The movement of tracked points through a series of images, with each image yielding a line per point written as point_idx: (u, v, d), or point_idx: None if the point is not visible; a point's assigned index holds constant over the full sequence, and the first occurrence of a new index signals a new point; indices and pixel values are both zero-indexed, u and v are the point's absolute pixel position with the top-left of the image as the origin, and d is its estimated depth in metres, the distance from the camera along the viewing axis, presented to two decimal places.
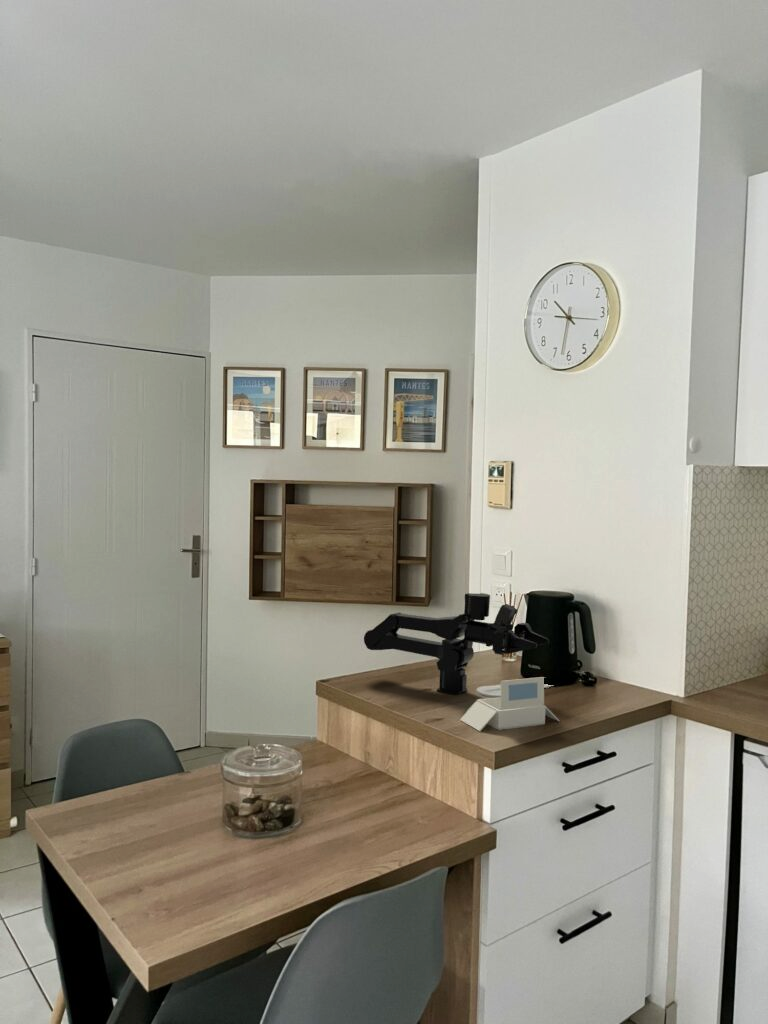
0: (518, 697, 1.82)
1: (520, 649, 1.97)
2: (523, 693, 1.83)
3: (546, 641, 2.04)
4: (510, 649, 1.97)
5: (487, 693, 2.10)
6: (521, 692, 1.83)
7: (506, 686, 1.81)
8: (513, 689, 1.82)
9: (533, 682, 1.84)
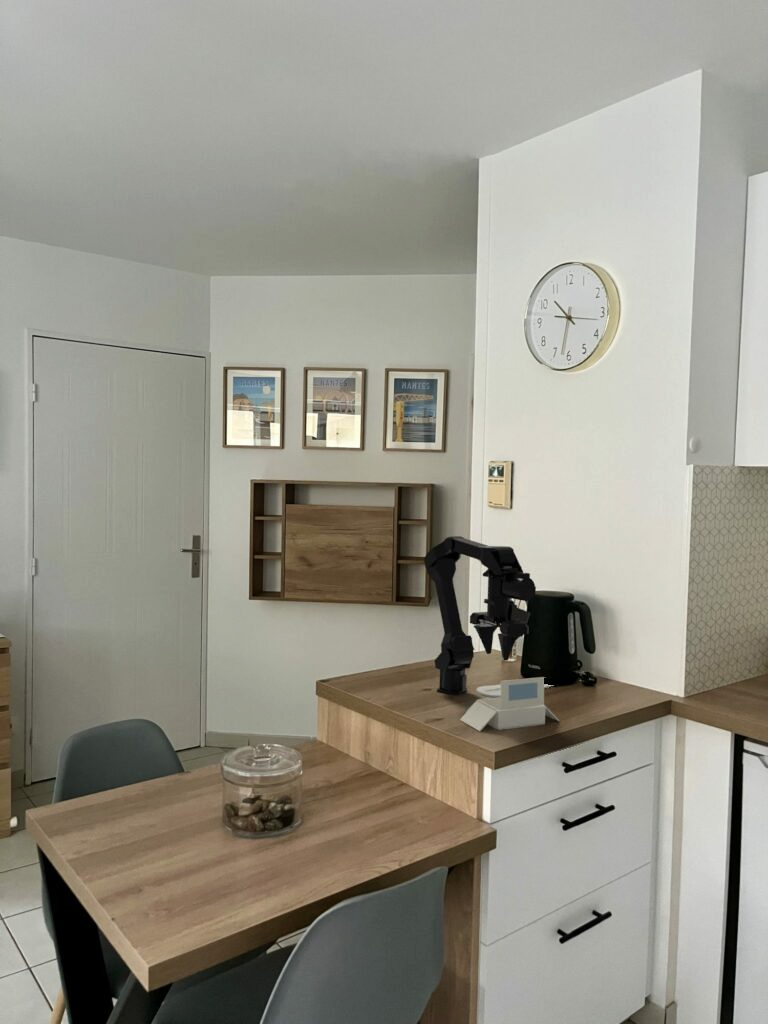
0: (518, 697, 1.82)
1: (504, 646, 1.93)
2: (523, 693, 1.83)
3: (488, 651, 2.02)
4: (505, 637, 1.92)
5: (487, 693, 2.10)
6: (521, 692, 1.83)
7: (506, 686, 1.81)
8: (513, 689, 1.82)
9: (533, 682, 1.84)
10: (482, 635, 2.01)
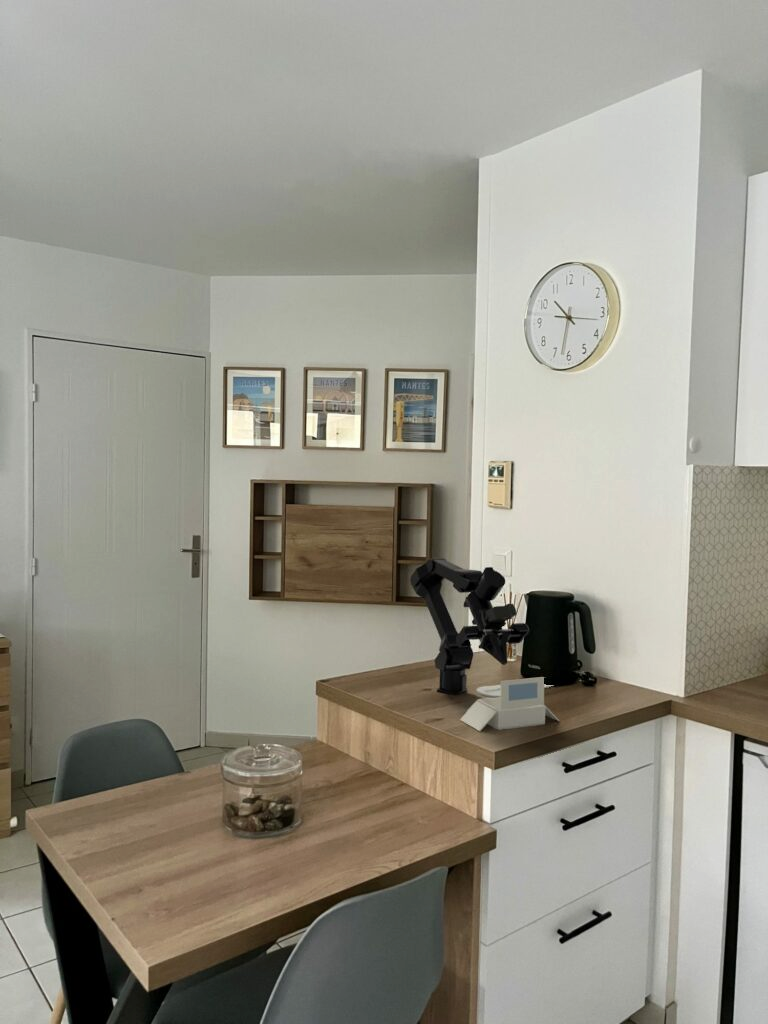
0: (518, 697, 1.82)
1: (492, 654, 1.93)
2: (523, 693, 1.83)
3: None
4: (485, 647, 1.94)
5: (487, 693, 2.10)
6: (521, 692, 1.83)
7: (506, 686, 1.81)
8: (513, 689, 1.82)
9: (533, 682, 1.84)
10: None
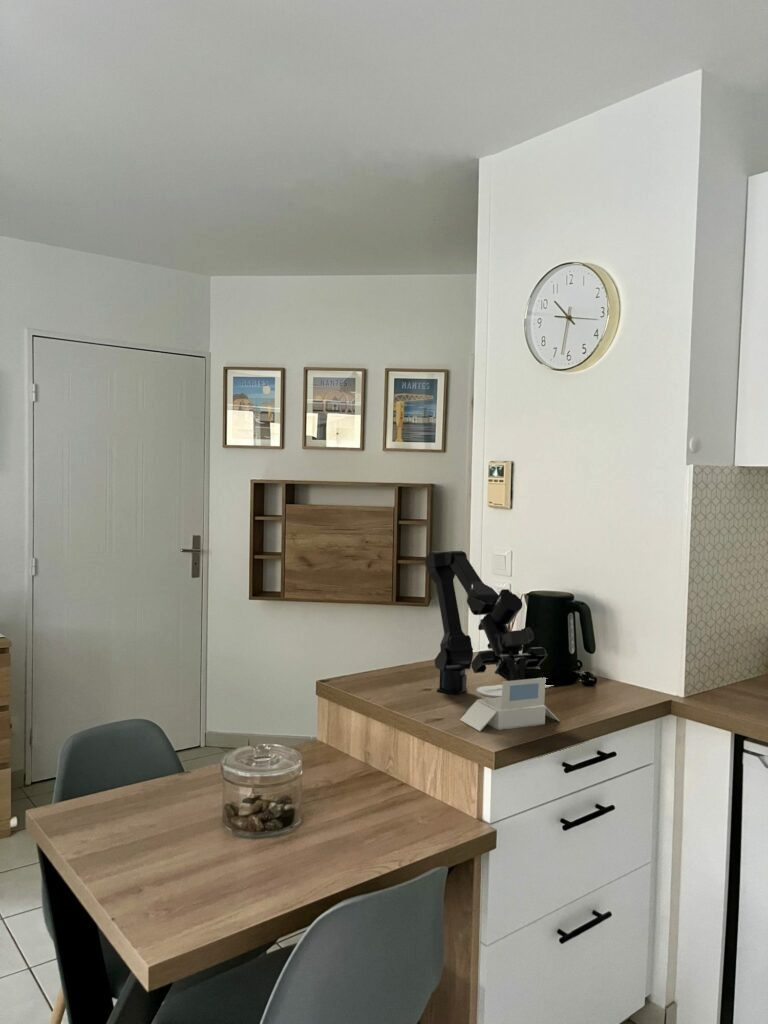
0: (519, 697, 1.82)
1: (509, 680, 1.86)
2: (524, 693, 1.83)
3: None
4: (502, 672, 1.87)
5: (487, 693, 2.10)
6: (522, 693, 1.82)
7: (507, 687, 1.81)
8: (514, 689, 1.81)
9: (534, 683, 1.84)
10: None
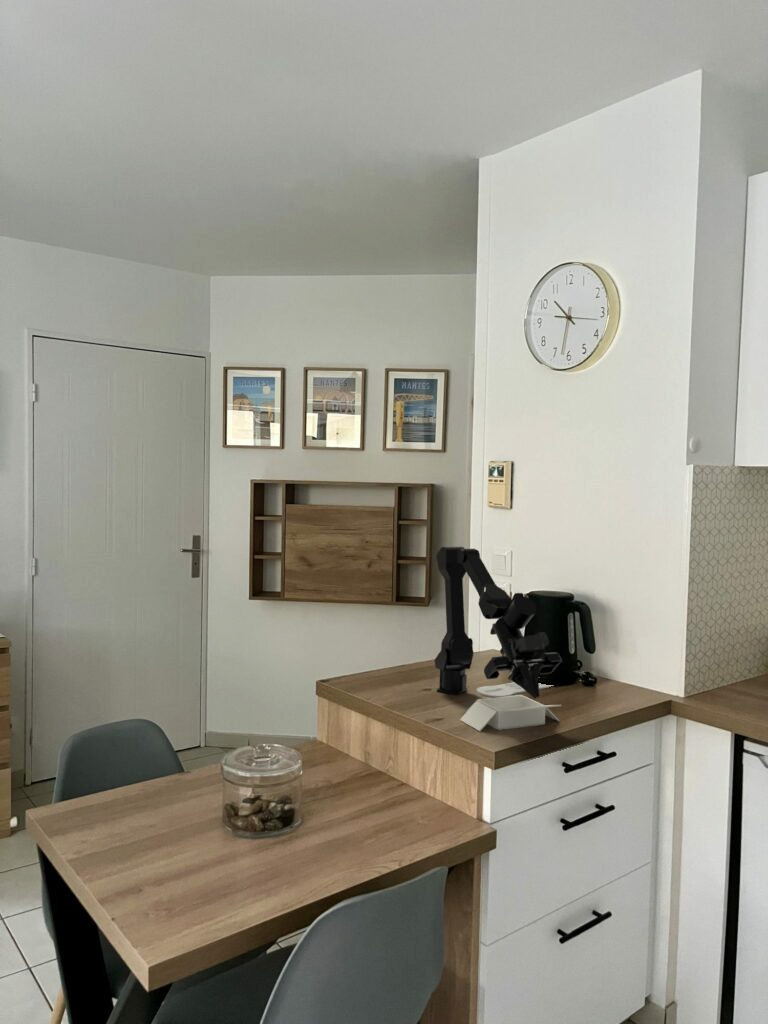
0: None
1: (522, 686, 1.81)
2: None
3: None
4: (515, 678, 1.82)
5: (487, 693, 2.10)
6: (530, 708, 1.80)
7: None
8: (524, 709, 1.78)
9: None
10: None
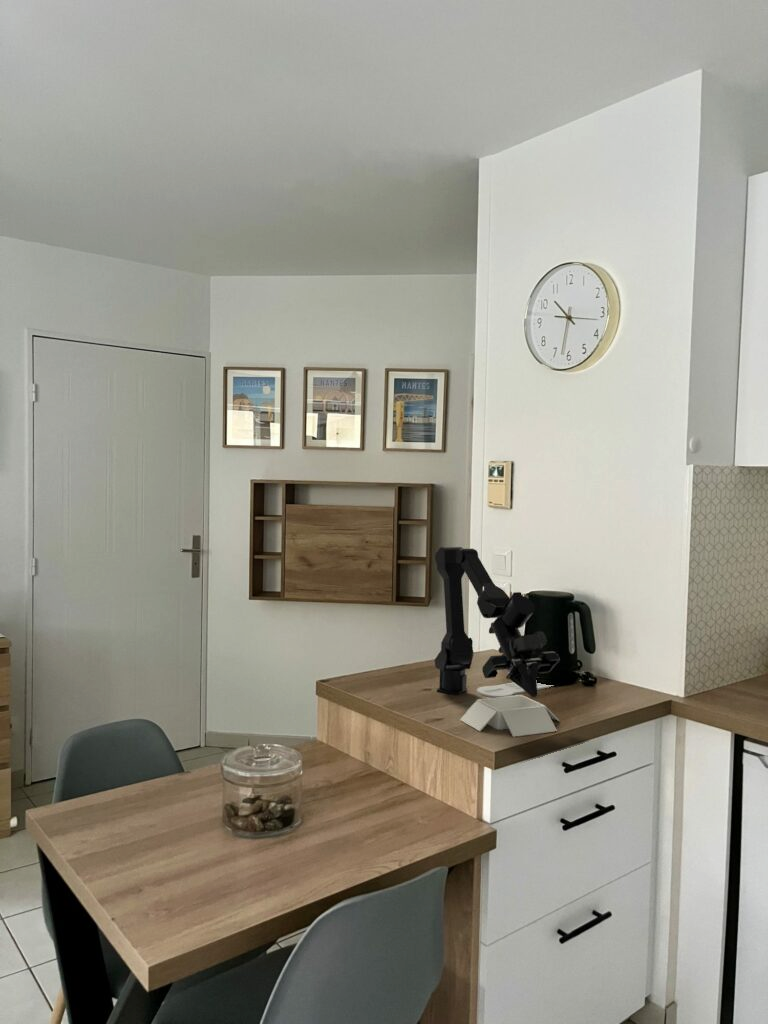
0: None
1: (520, 685, 1.81)
2: None
3: None
4: (514, 677, 1.83)
5: (487, 693, 2.10)
6: None
7: None
8: None
9: None
10: None
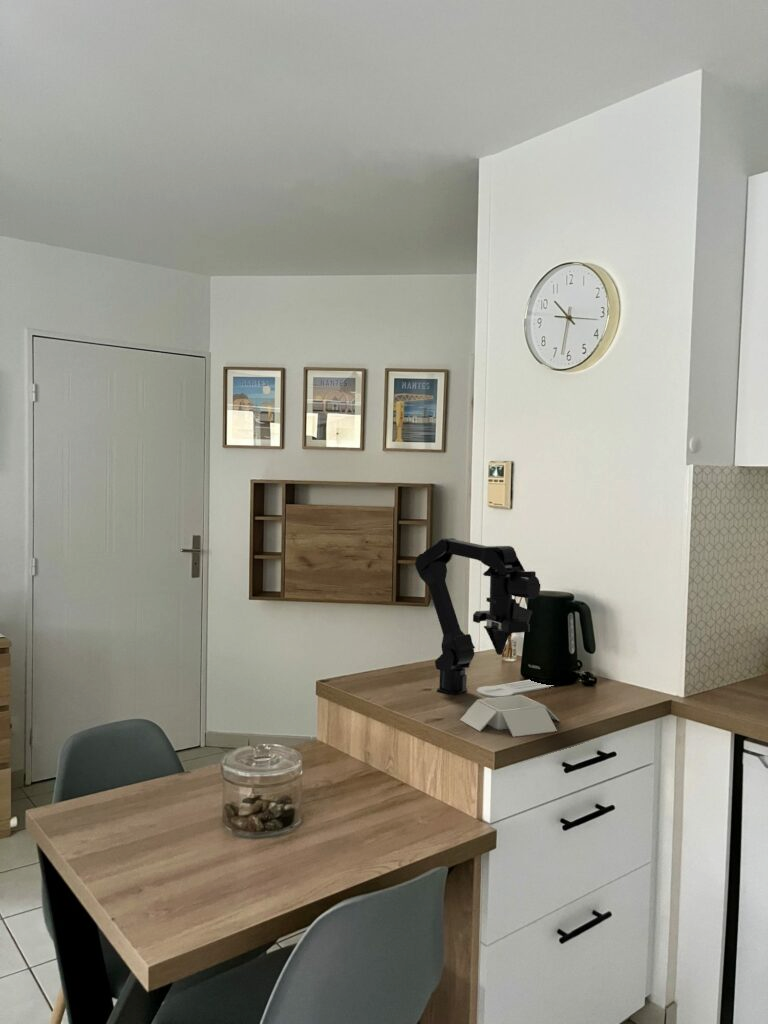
0: None
1: (498, 641, 2.00)
2: None
3: None
4: (498, 633, 1.99)
5: (487, 693, 2.10)
6: None
7: None
8: None
9: None
10: (492, 636, 2.01)
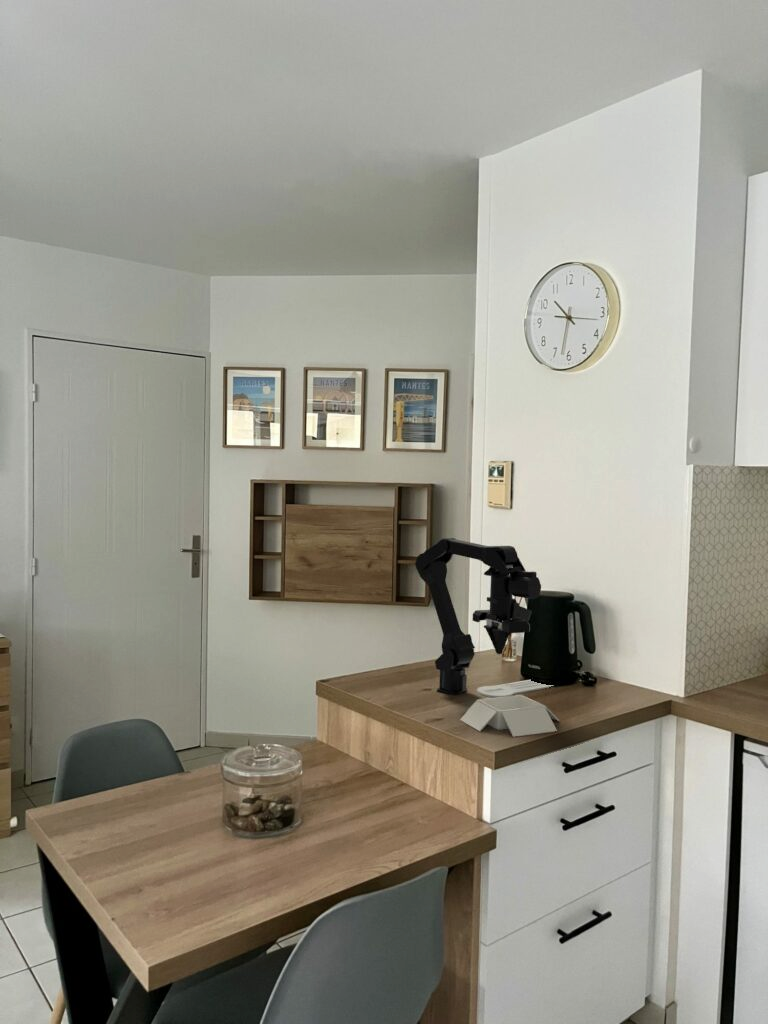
0: None
1: (498, 641, 2.00)
2: None
3: None
4: (498, 632, 1.99)
5: (487, 693, 2.10)
6: None
7: None
8: None
9: None
10: (492, 635, 2.02)
